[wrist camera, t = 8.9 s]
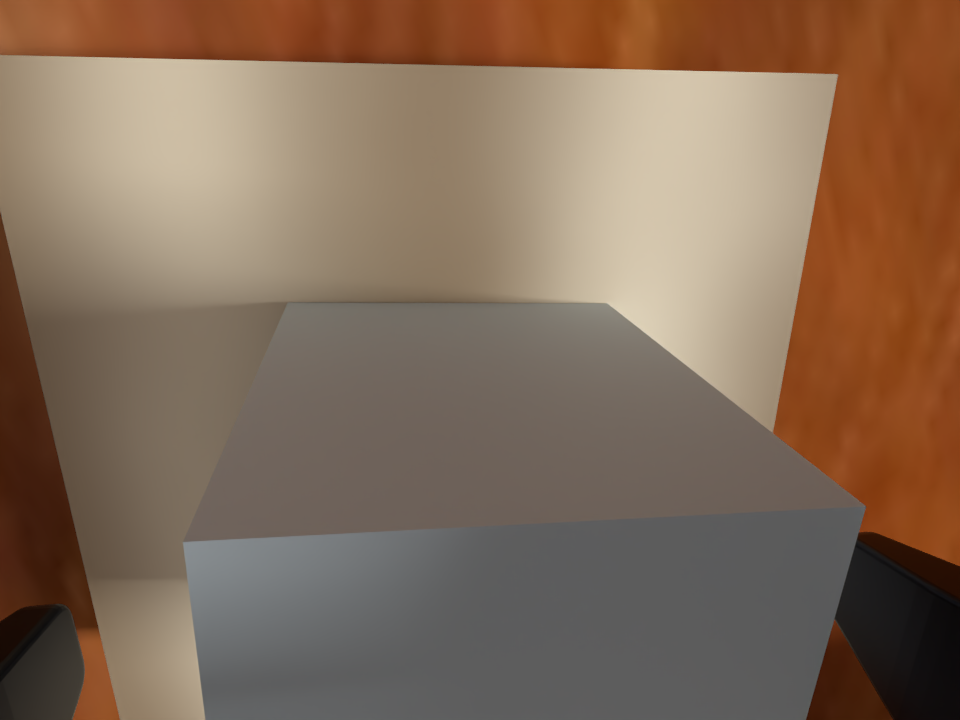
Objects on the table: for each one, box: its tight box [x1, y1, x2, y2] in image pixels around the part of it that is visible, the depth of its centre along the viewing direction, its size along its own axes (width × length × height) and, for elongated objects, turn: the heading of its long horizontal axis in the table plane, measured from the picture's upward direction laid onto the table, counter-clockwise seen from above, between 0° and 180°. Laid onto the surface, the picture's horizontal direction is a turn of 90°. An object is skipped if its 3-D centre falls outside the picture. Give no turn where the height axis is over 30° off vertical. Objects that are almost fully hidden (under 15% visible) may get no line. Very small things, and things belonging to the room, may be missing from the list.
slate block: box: [183, 302, 866, 720], centre depth 8 cm, size 5×5×6 cm
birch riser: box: [0, 55, 838, 720], centre depth 13 cm, size 12×12×4 cm
